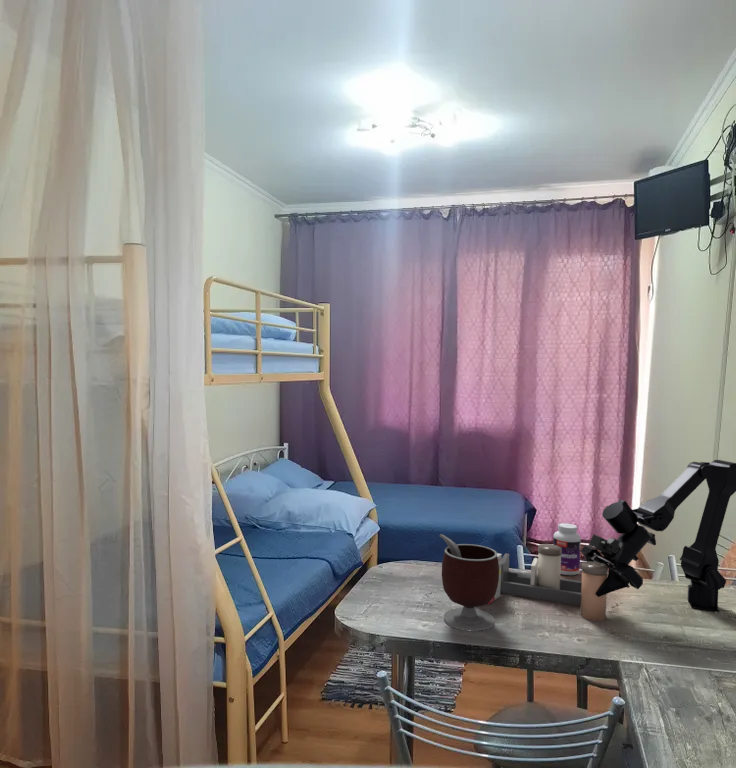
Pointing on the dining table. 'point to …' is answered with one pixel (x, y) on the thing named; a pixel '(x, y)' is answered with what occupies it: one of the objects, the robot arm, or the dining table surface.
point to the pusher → (530, 573)
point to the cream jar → (549, 566)
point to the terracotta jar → (593, 591)
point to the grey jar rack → (538, 587)
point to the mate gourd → (469, 583)
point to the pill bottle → (568, 548)
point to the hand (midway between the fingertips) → (589, 590)
